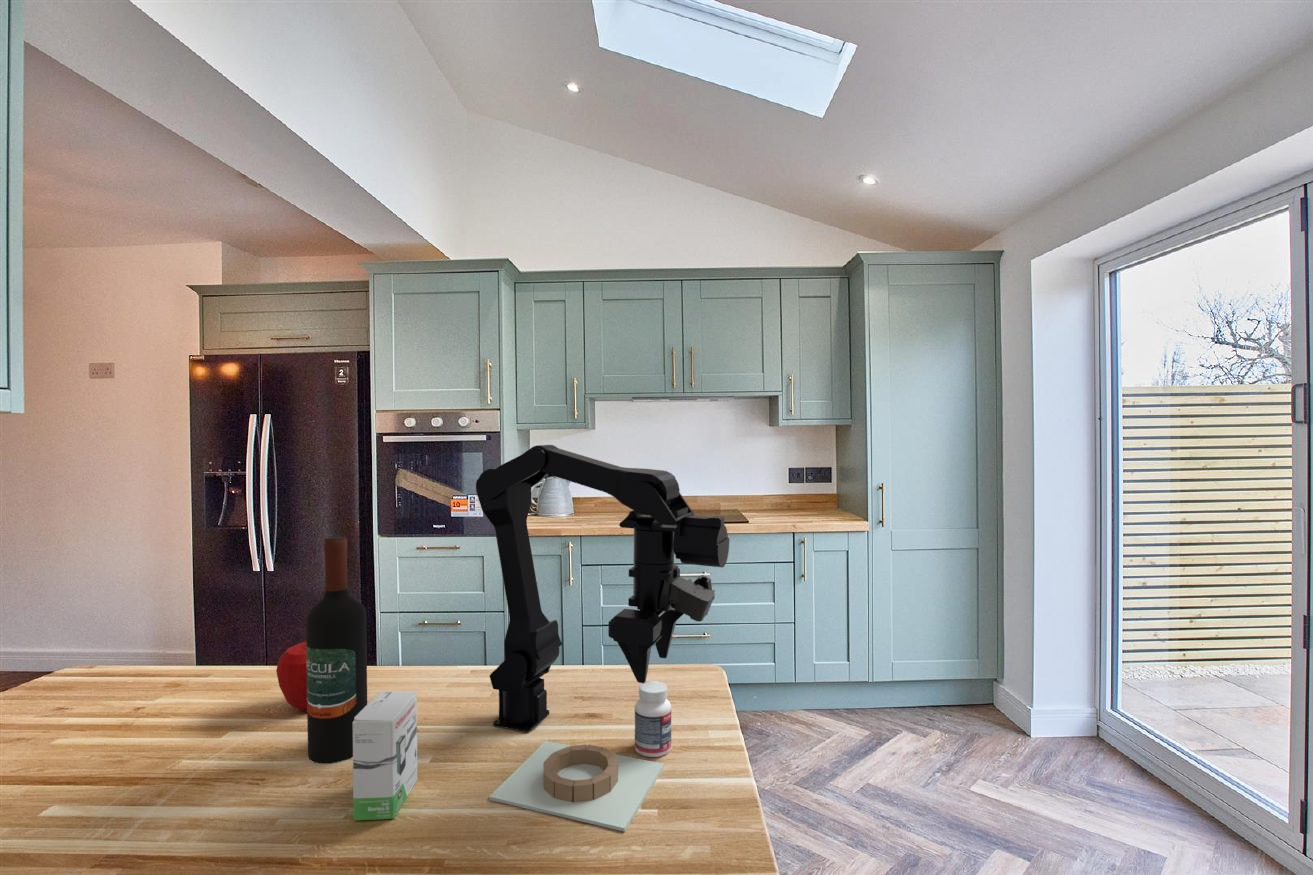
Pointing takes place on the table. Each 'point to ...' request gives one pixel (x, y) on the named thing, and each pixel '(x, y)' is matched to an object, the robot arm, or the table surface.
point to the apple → (294, 676)
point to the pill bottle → (653, 720)
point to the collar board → (581, 811)
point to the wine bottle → (335, 662)
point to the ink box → (384, 755)
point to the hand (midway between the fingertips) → (652, 669)
